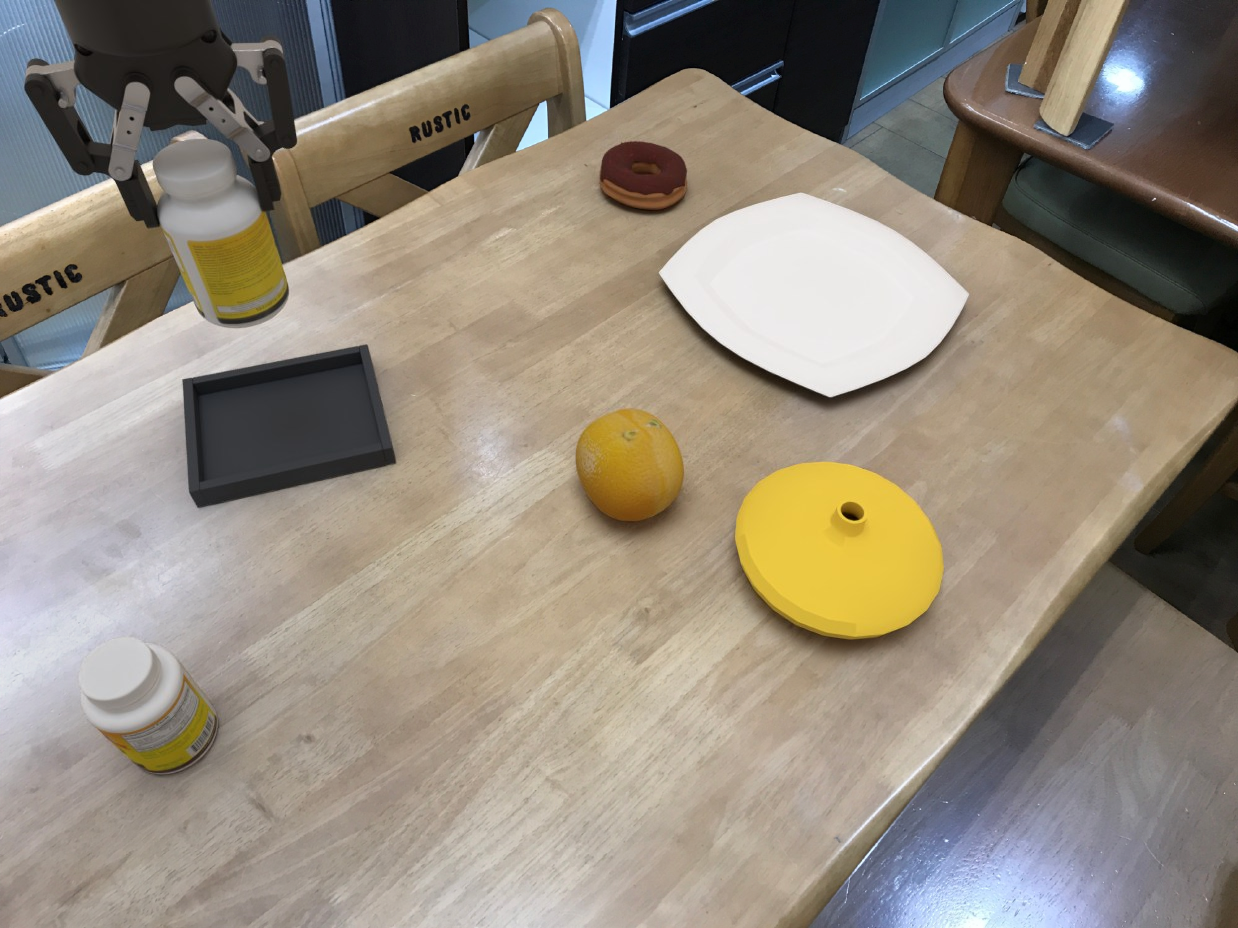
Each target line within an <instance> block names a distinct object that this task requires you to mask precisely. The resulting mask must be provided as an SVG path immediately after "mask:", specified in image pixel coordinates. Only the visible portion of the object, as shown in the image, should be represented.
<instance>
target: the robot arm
mask: <svg viewBox="0 0 1238 928" xmlns="http://www.w3.org/2000/svg"><path fill="white" fill-rule="evenodd" d="M53 2H54V4H55V7H56V9H57V11H58V13H59V16H60V18H61V20H62V23H63V25H64V27H65V30H66V32H67V35H68V37H69V39H70V41H71V44H72V46H73V49H74V56H73V60H67V61H63V62H58V63H53V64H50V63H49V62H48V61H46V60H44V59H42V58H38V57H37V58H32V59H31V58H30V60H29V61H28V62H27V64H26V69H25V77H24V78H25V79H24V87H23V89H24V92H25V94H26V95H27V97H28V99H29V101H30V102H31V104H32V106H33V107H34V109H35V110H36V112H37V113H38V115H39V117H40V118H41V120H42V122H43V123H44V125H45V127H46V129H47V130H48V132H49V133H50V135H51V137H52V138H53V140H54V141H55V143H56V145H57V147H58V148H59V150H60V151H61V153H62V155H63V156H64V158H65V160H66V161H67V163H68V165H69V166H70V168H71V169H72V171H73V172H74V173H76V174H77V175H80V176H82V177H83V176H85V177H87V176H90V175H92V174H94V173H96V174H102V175H106V176H108V177H110V178H111V179H112V180H113V181H114V183H115V185H116V187H117V189H118V191H119V193H120V196H121V198H122V200H123V202H124V205H125V207H126V209H127V211H128V214H129V215H130V217H131V218H132V219H133V220H134V221H135V222H144V224H145V227H146V229H155V228H160V227H161V225H160V223H159V220H158V217H157V204H158V203H157V201H156V199H155V196H154V194H153V192H152V189H151V187H150V185H149V182H148V180H147V178H146V175H145V173H144V170H143V168H142V165H141V163H140V161H139V159H136V156H137V152H138V150H139V146H140V141H141V136H142V132H143V128H148V129H149V130H150V132H157V131H165V130H168V129H170V128H173V127H175V126H178V125H179V126H188V127H198V126H205V125H207V124H208V123H207V121H209V122H210V123H211V124H212V125H213V126H214V127H215V128H216V129H217V130H218V131H219V132H220V133H221V134H223V136H224V137H225V138H226V139H228V140H232V141H233V142H234V143H235V144H237V145H238V147H240V148H241V149H242V150H243V152H244V153H246V155H247V162H248V163H247V164H248V167H249V170H250V173H251V176H252V179H253V182H254V187H255V188H256V189H257V193H258V196H259V199H260V202H261V205H262V209H263V211H264V212H265V211H266V212H271V211H275V204H274V202H280V201H281V199H282V190H281V183H280V180H279V176H278V173H277V169H276V165H275V162H274V157H273V156H274V155H275V153H276V152H277V151H279V150H281V149H285V150H286V149H287V150H290V149H294V148H295V147H296V145H298V136H297V129H296V123H295V118H294V110H293V104H292V97H291V90H290V84H289V76H288V70H287V64H286V59H285V55H284V50H283V46H282V42H281V40H280V39H279V38H278V37H277V36H276V35H274V34H266V35H263V36H262V37H261V38H260V41H259V42H239V43H238V42H237V43H233V42H232V40H231V39H230V38H229V37H228V36H227V35H226V33H224V31H223V29H221V27H220V25H219V23H218V19H217V16H216V12H215V9H214V5H213V2H212V0H53ZM238 67H240V68H244V69H245V70H246V71H248V72H249V75H250V77H251V79H252V80H253V82H254V83H256V84H258V85H260V86H261V85H263V86H265V85H266V88H267V94H268V99H269V106H270V112H271V117H272V118H270V119H268V120H266V121H265V122H262V123H260V122H259V121H258V120H257V119H256V118H255V117H254V116H253V115H252V114H251V113H250V111H248V109H247V108H246V107H245V106H244V104H243V102H242V101H241V99H240V98H239V97H238V96H237V95H236V93H234V91H232V90H231V89H230V88H229V87H230V85H231V82H232V81H233V78H234V76H235V74H236V72H237V69H238ZM79 85H81V86H82V87H83V88H85V89H86V90H88V91H89V92H90V93H92V94H93V95H95V96H96V97H97V98H99V99H100V100H101V101H103V102H104V103H106V104H107V105H108V106H110V107H111V108H112V109H114V116H113V125H112V130H111V134H110V140H109V143H104V142H100V141H99V142H98V141H94V139H93V138H92V135H91V134H90V132H89V131H88V128H87V127H86V125H85V123H84V122H83V120H82V118H81V116H80V115H79V113H78V111H77V109H76V107H75V104H76V102H77V88H76V87H77V86H79Z"/></svg>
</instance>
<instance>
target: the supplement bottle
mask: <svg viewBox="0 0 1238 928" xmlns="http://www.w3.org/2000/svg"><path fill="white" fill-rule="evenodd" d="M193 678H194V677H192V676H191V674H190V673H189V671H188V670H187V669H186V668H185V667H184V665H183V664H182V662H181V661H180V660H179V658H178V657H177V656H176V655H175V654H174V653H173V652H172V651H171V650H170V649H168V648H167V647H165V646H163V645H161V644H157V643H152V642H144V641H143V640H141V639H139V638H137V637H132V636H119V637H114V638H112V639H109V640H107V641H104V642H102V643H100V644H99V645H97V646H96V647H95V648H94V649H92V650H91V651H90V652H89V653H88V654H87V656H85V658H84V659H83V660H82V662H81V664H80V666H79V669H78V673H77V683H78V687H79V690H80V695H79V696H80V697H79V699H80V700H79V701H80V708H81V710H82V713H83V715H84V717H85V718H86V719H87V721H88V722H89V723H90V724H91V725H92V726H93V727H94V728H95V729H96V730H97V731H99V732H100V734H102V735H103V736H104V737H105V738H106V739H107V740H108V741H109V742H110V743H112V745H114V746H115V747H116V748H117V749H118V750H119V751H120V753H122V754H123V755H124V756H125V757H127V758H128V759H129V760H130V761H131V762H132V763H133V764H134V765H135V766H137V767H138V768H139V769H141V770H143V771H144V772H147V773H149V774H153V775H170V774H174V773H178V772H181V771H183V770H185V769H187V768H190V767H191V766H193V765H194V764H195V763H197V762H198V761H199V760H200V759H201V758H202V757H204V755H205V754H206V753H207V752H208V751H209V749H210V748H211V746H212V745H213V743H214V741H215V738H216V736H217V732H218V725H219V721H218V720H219V719H218V713H217V711H216V708H215V707H214V705H213V704H212V702H211V700H210V698H208V697H207V695H206V694H205V693H204V691H203V690H202V689H201V687H200V686H199V685H198V684H197V682H196V681H195V679H193Z"/></svg>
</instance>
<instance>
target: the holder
mask: <svg viewBox="0 0 1238 928" xmlns="http://www.w3.org/2000/svg"><path fill="white" fill-rule="evenodd" d="M181 381H182V397H183V399H182V400H183V414H184V431H185V448H186V464H187V465H186V466H187V483H188V493H189V495H190V496H191V499H192V500H193V502H194V505H195V506H196V508H202V507H207V506H211V505H216V504H221V503H225V502H229V501H234V500H239V499H243V498H247V497H252V496H257V495H261V494H265V493H269V492H274V491H278V490H283V489H287V488H292V487H296V486H302V485H305V484H309V483H314V482H319V481H324V480H327V479H332V478H336V477H341V476H344V475H345V476H346V475H350V474H354V473H359V472H364V471H368V470H372V469H376V468H382V467H385V466H389V465H394V464H397V460H396V455H395V451H394V447H393V443H392V439H391V434H390V431H389V427H388V422H387V419H386V413H385V411H384V406H383V405H384V404H383V402H382V398H381V393H380V389H379V386H378V385H379V384H378V381H377V378H376V372H375V369H374V364H373V360H372V357H371V352H370V348H369V344H367V343H366V344H360V345H355V346H350V347H345V348H340V349H334V350H329V351H324V352H319V353H313V354H308V355H304V356H303V355H302V356H298V357H293V358H287V359H282V360H277V361H272V362H271V361H270V362H266V363H260V364H256V365H251V366H245V367H240V368H235V369H230V370H225V371H219V372H213V373H209V374H203V375H199V376H192V377H185V378H183V379H182V380H181Z"/></svg>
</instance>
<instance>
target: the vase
mask: <svg viewBox="0 0 1238 928" xmlns="http://www.w3.org/2000/svg"><path fill="white" fill-rule="evenodd" d="M939 539H940V538H939V536H938V534H937V532H936V530H935V527H934V525H933V523H932V522H931V520H930V519H929V518H928V516H927V515H926V514H925V512H924V511H923V509H922V508H921V507H920V506H919V504H918V502H916V501H915V500H914V499H913V498H912V497H911V496H909V495H908V494H907V493H906V492H905V491H904V490H902V489H901V487H899V486H898V485H897V484H895V483H894V482H892V481H890V480H888V479H887V478H885V477H883V476H882V475H880V474H878V473H876V472H873V471H871V470H868V469H865V468H861V467H859V466H856V465H853V464H849V463H841V462H834V461H813V462H802V463H801V462H799V463H796V464H792V465H790V466H787V467H784V468H780V469H777V470H775V471H773V472H772V473H771V474H769V475H767V476H765V477H764V478H762V479H760V480H759V481H758V482H757V483H756V484H755V485H754V486H753V487H752V489H750V491H749V492H748V493H747V494H746V495H745V496H744V498H743V501H742V503H741V506H740V508H739V510H738V513H737V514H736V519H735V533H734V541H735V546H736V548H737V553H738V557H739V562H740V565H741V567H742V570H743V572H744V574H745V576H746V577H747V579H748V581H749V583H750V585H751V587H752V588H753V590H754V592H755V593H757V595H758V596H759V597H760V598H761V599H762V600H763V601H764V602H765V603H766V604H767V605H768V606H769V608H771V609H772V610H773V611H774V612H776V613H777V614H779V615H780V616H781V617H783V618H785V619H786V620H788V621H789V622H790V623H792V624H794V625H795V626H797V627H800V628H802V629H804V630H808V631H810V632H812V633H815V634H817V635H820V636H825V637H831V638H839V639H842V640H843V639H844V640H860V639H872V638H878V637H881V636H884V635H886V634H889V633H891V632H894V631H897V630H899V629H902V628H904V627H906V626H909V625H910V624H911V623H913V622H914V621H915V620H916V619H918V618H919V617H920V616H922V615H923V614H924V613H926V612H927V611H928V609H929V608H930V606H931V604H932V603H933V601H934V600H935V598H936V597H937V595H938V593H940V589H941V584H942V580H943V574H944V571H945V565H944V555H943V548H942V547H943V546H942V544H941V541H940V540H939Z"/></svg>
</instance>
